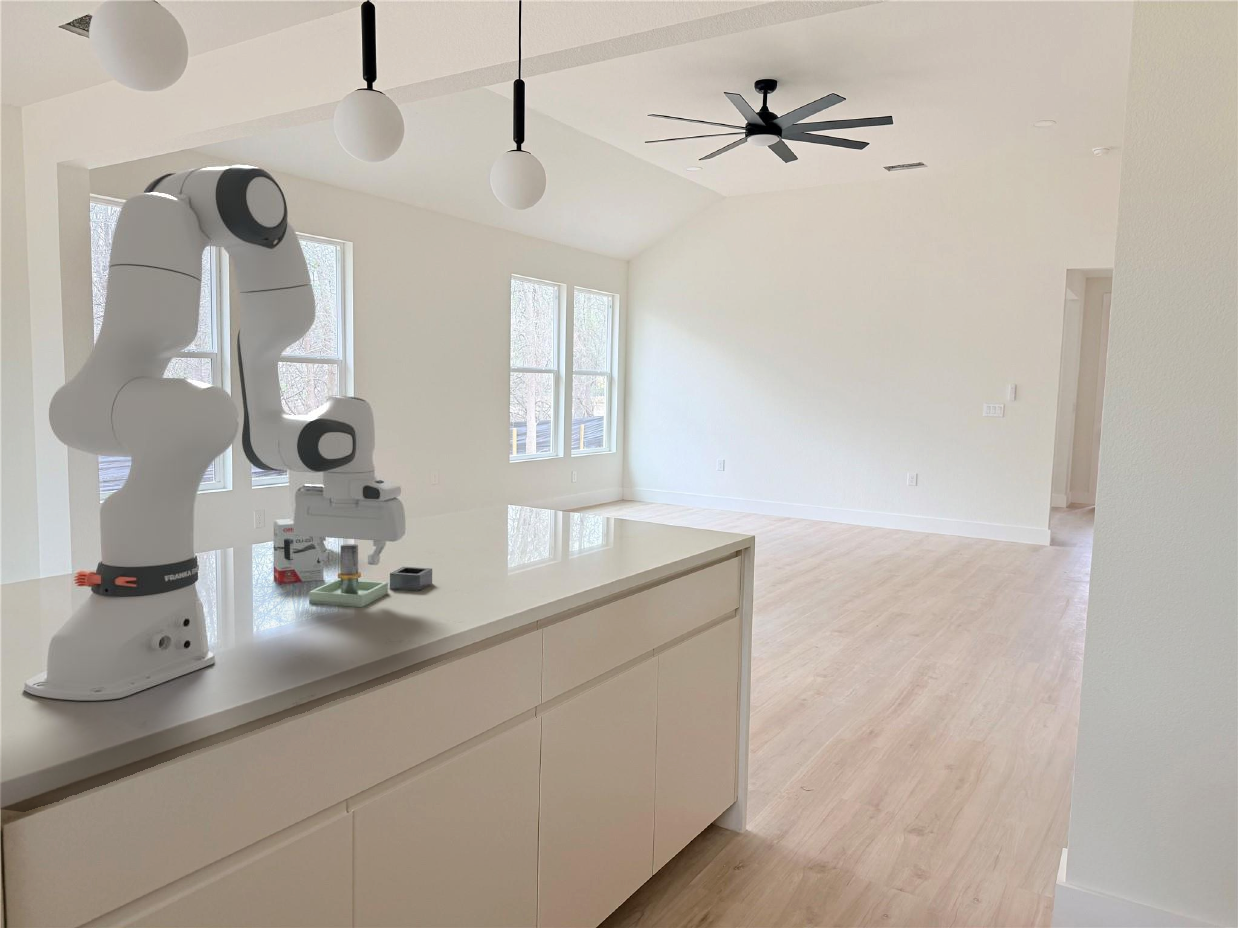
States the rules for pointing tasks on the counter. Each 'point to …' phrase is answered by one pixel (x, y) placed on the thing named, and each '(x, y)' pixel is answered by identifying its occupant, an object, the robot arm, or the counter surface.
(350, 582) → the pin
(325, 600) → the tray
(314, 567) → the ink box
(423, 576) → the socket block
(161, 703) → the counter surface
